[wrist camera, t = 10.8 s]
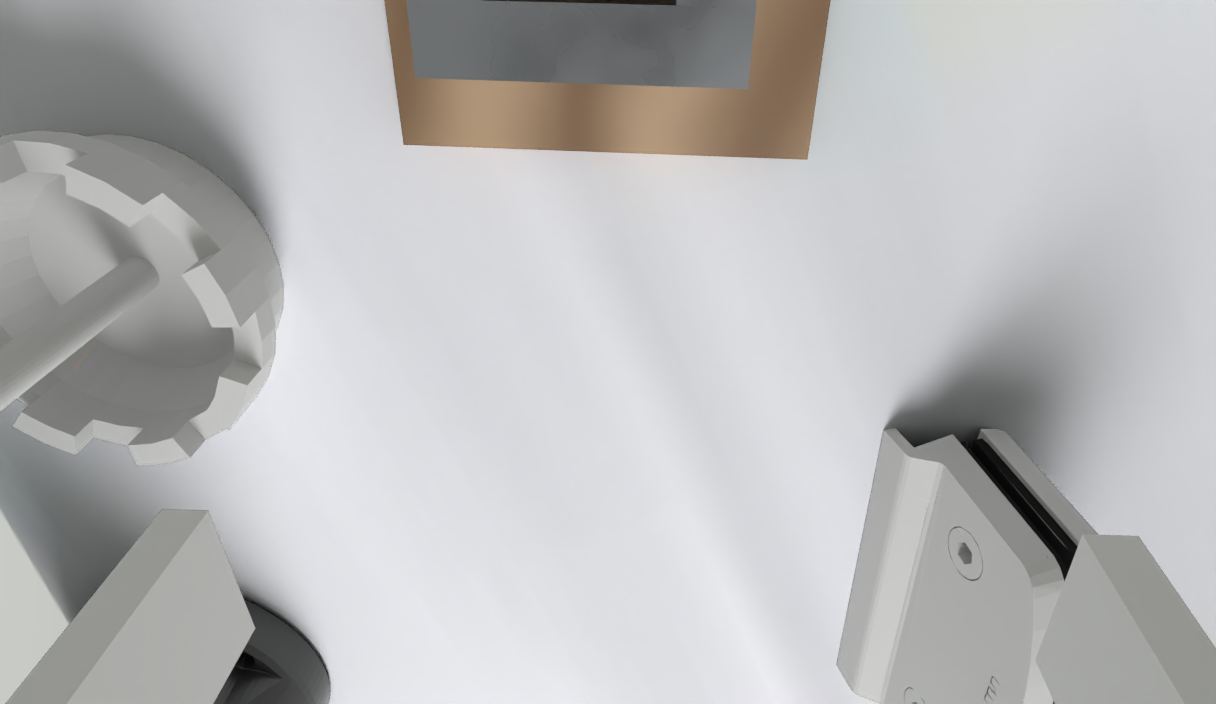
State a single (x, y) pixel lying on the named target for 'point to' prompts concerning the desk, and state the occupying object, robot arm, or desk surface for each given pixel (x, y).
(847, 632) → the hinge
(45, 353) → the flag stand
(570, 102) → the wooden peg stand
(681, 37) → the grey hollow square block
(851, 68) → the desk surface
